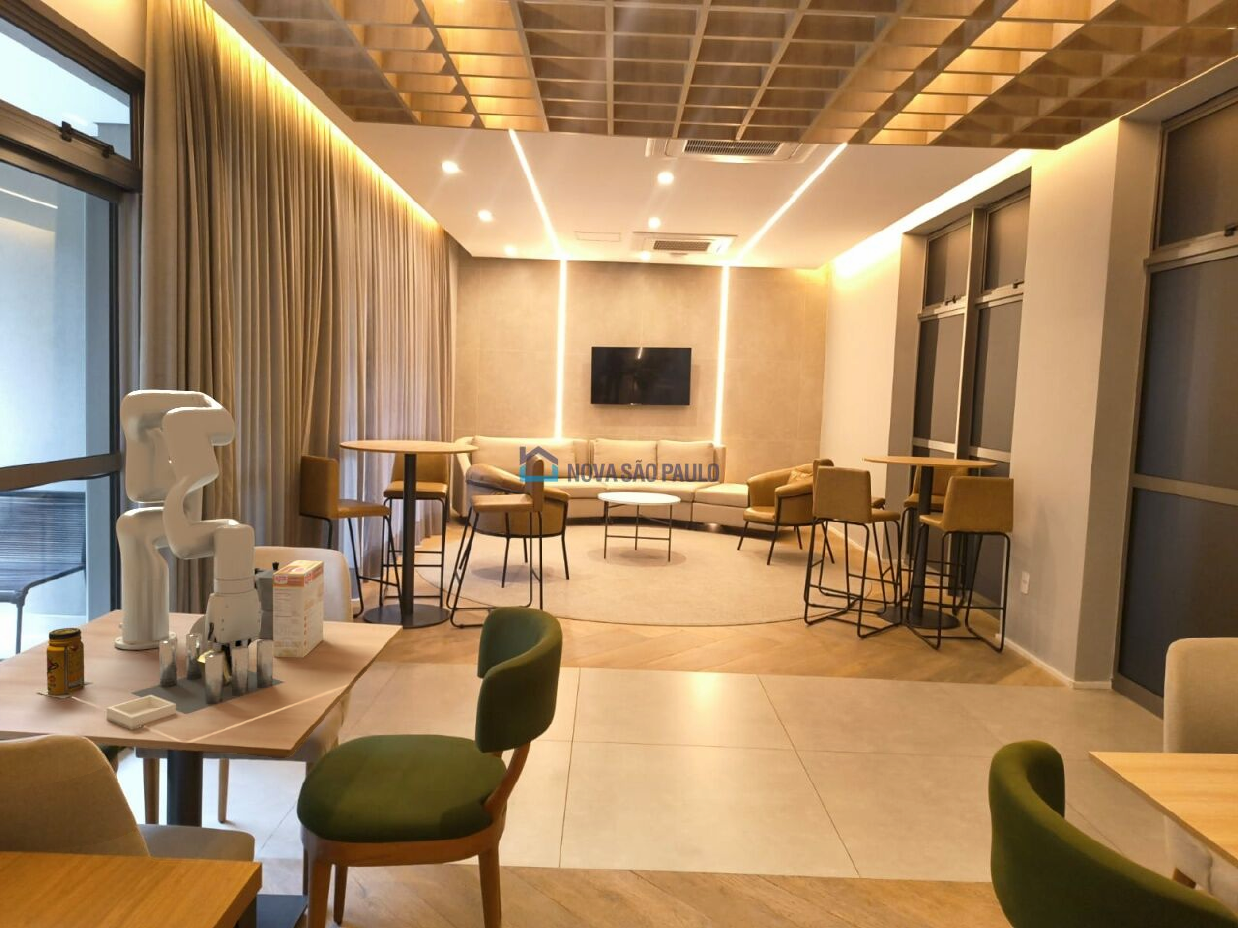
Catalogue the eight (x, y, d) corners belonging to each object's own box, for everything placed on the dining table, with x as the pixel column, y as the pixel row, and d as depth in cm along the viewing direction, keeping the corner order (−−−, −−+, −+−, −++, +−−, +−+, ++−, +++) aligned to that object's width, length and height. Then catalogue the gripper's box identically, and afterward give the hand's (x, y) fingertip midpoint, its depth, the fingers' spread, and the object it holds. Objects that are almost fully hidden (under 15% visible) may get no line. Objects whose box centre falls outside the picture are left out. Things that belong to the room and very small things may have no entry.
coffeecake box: (295, 638, 199) (295, 559, 198) (324, 639, 200) (325, 560, 198) (271, 658, 184) (271, 572, 183) (303, 659, 185) (303, 573, 183)
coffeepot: (309, 634, 203) (309, 562, 202) (277, 643, 195) (277, 568, 194) (267, 623, 211) (267, 554, 209) (234, 632, 202) (234, 560, 201)
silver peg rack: (156, 685, 164) (156, 641, 163) (221, 667, 176) (221, 626, 175) (211, 705, 155) (211, 658, 154) (275, 684, 167) (276, 641, 166)
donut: (192, 662, 179) (192, 618, 178) (186, 659, 182) (186, 614, 181) (238, 653, 187) (238, 610, 186) (232, 650, 189) (232, 607, 188)
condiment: (36, 693, 159) (35, 632, 158) (79, 679, 167) (78, 622, 166) (62, 699, 156) (61, 637, 155) (104, 685, 164) (103, 627, 163)
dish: (106, 719, 148) (106, 707, 148) (151, 705, 155) (150, 694, 154) (131, 729, 144) (131, 717, 144) (176, 715, 151) (176, 703, 150)
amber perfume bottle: (217, 689, 163) (208, 663, 161) (202, 684, 165) (193, 658, 163) (236, 677, 167) (227, 651, 164) (220, 672, 169) (212, 647, 167)
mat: (131, 694, 160) (131, 692, 160) (229, 666, 178) (229, 664, 178) (186, 715, 151) (186, 713, 151) (284, 683, 169) (284, 681, 169)
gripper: (254, 576, 176) (254, 660, 177) (188, 589, 163) (188, 679, 164) (278, 581, 172) (277, 667, 173) (211, 594, 159) (212, 687, 160)
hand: (234, 672), depth 169 cm, fingers closed
